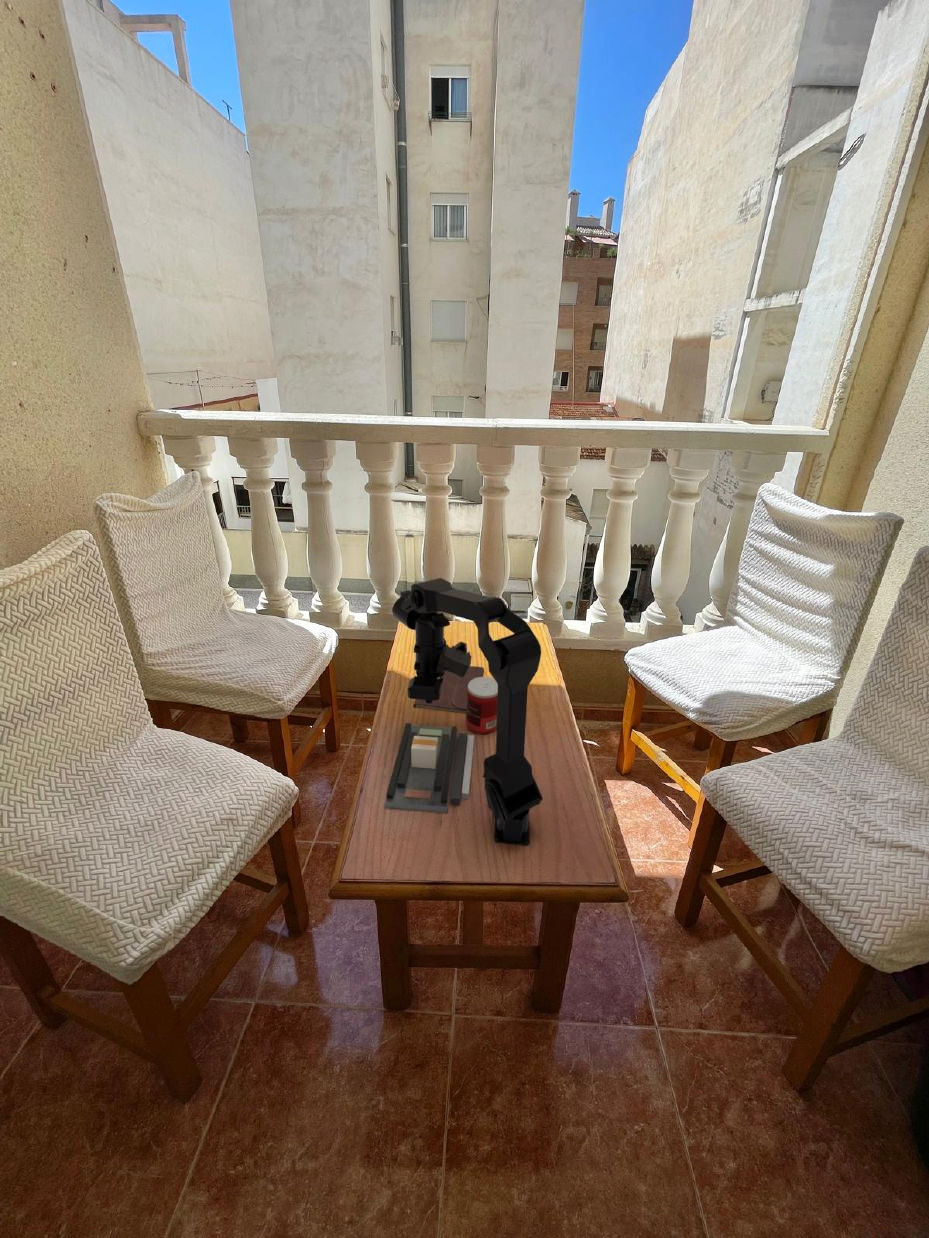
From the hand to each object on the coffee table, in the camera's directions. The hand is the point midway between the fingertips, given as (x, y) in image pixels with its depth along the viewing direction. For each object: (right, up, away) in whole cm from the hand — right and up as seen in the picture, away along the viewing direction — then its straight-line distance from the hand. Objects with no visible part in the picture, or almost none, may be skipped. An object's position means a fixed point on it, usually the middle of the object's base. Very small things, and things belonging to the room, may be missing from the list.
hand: (429, 702), depth 118 cm
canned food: (+12, -7, +13) cm, 19 cm away
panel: (-1, -14, -1) cm, 14 cm away
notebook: (+4, -1, +26) cm, 26 cm away
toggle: (-1, -12, -2) cm, 12 cm away
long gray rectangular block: (+7, -14, -1) cm, 16 cm away
